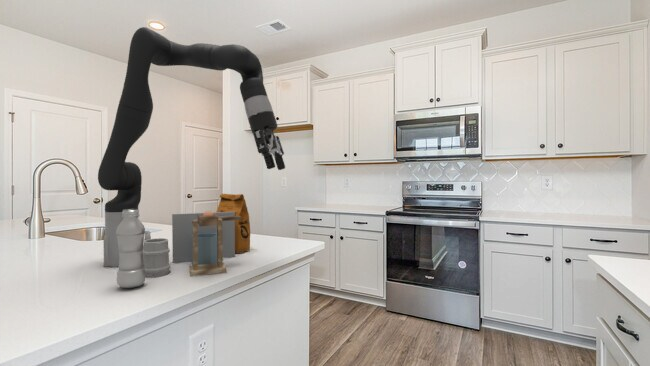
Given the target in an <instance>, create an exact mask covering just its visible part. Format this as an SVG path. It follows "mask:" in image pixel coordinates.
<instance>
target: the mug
mask: <svg viewBox="0 0 650 366" xmlns="http://www.w3.org/2000/svg"><path fill="white" fill-rule="evenodd" d="M144 234H145V235H144V242H143V260H144V267H145V272H146V278H158V277H163V276H166V275H168V274H169V273H170V270H171V268H172V266H171V264H170V255H169V254H170V251H171V250H170V247H169V239H168V238H164V237H162V238H161V237H160V238H159V237H158V238H151V237H152V236H151V232H150V230H145V233H144Z"/></svg>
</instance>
